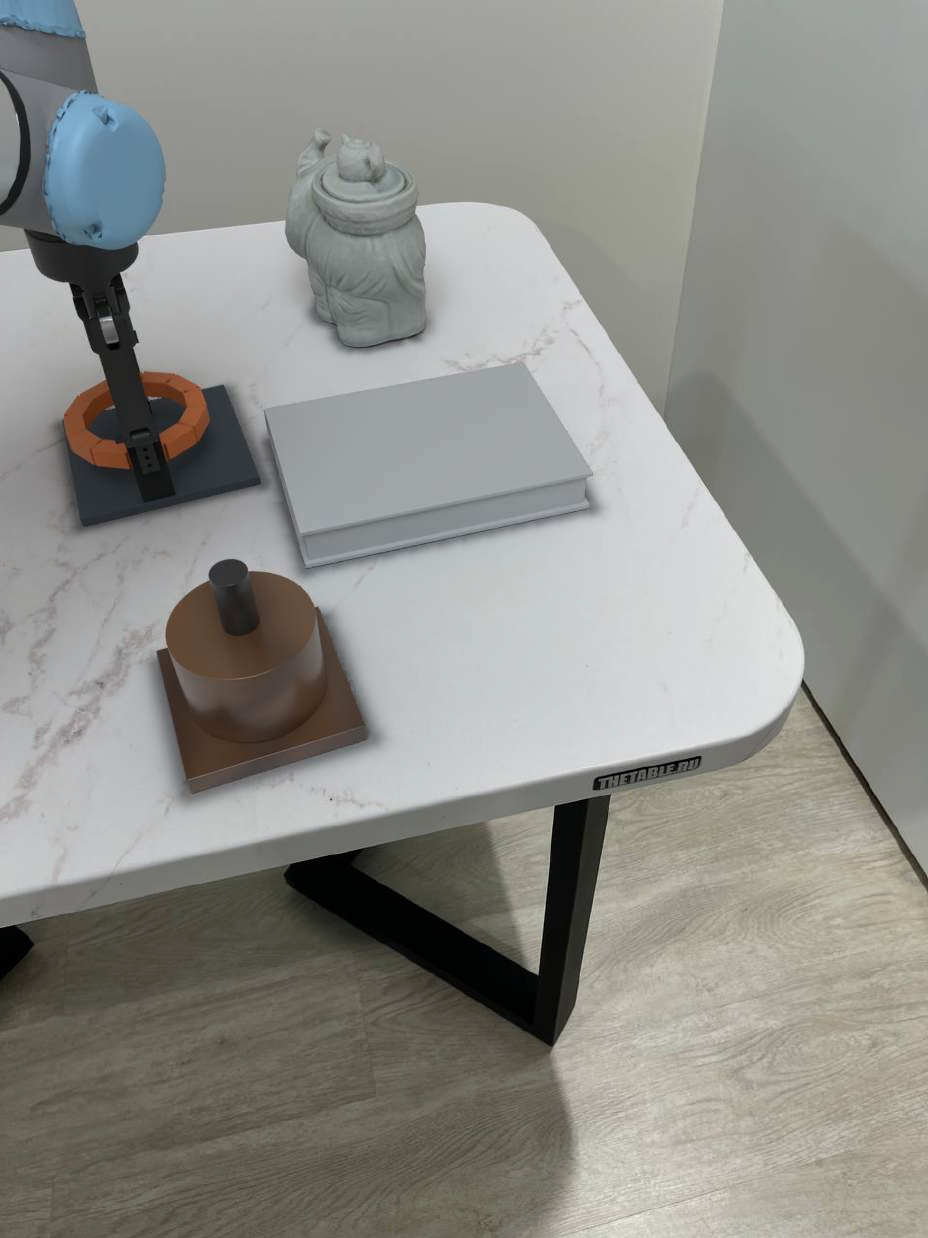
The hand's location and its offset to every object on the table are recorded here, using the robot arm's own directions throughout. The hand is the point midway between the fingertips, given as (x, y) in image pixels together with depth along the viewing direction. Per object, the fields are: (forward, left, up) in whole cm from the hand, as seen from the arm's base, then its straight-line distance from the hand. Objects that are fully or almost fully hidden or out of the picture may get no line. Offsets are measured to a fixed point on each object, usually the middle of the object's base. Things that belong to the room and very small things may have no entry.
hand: (147, 453), depth 89 cm
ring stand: (+3, -30, -1) cm, 30 cm away
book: (+22, -10, -1) cm, 24 cm away
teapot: (+25, +18, -1) cm, 31 cm away
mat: (+1, +1, -1) cm, 2 cm away
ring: (0, 0, +3) cm, 3 cm away
